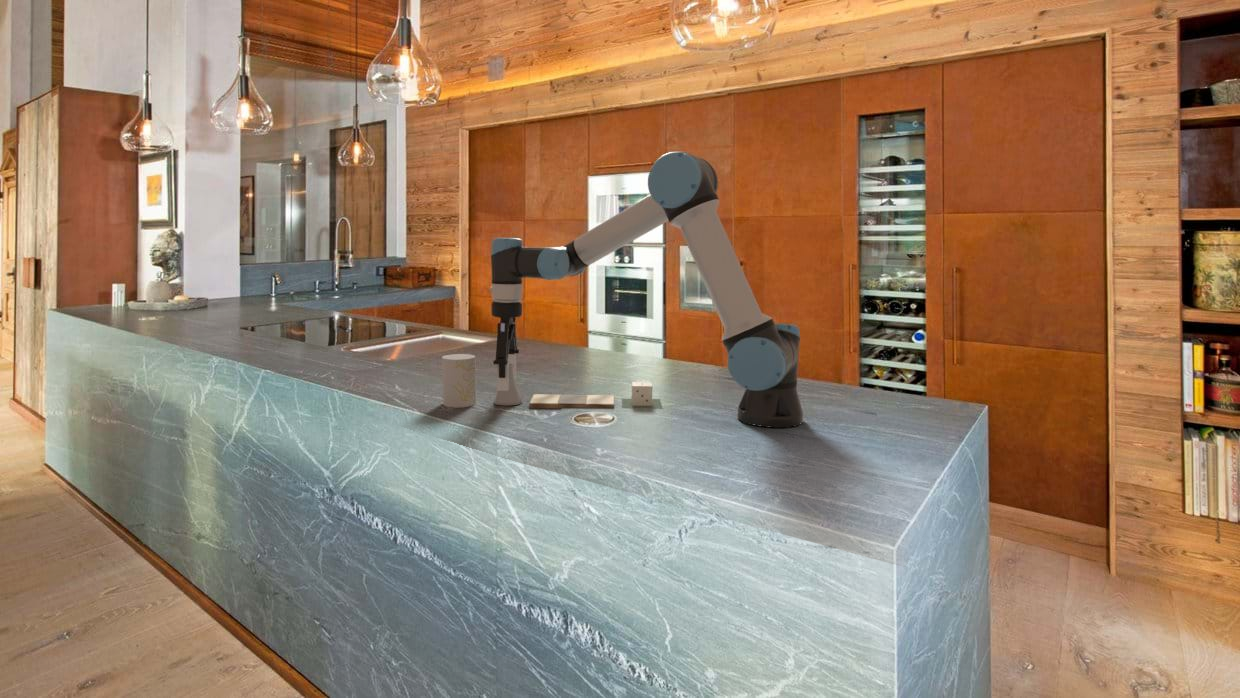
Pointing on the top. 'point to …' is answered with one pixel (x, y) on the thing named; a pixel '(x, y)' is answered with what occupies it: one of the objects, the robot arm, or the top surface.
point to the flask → (509, 391)
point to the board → (571, 401)
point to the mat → (628, 404)
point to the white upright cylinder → (459, 380)
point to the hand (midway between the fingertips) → (506, 384)
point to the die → (641, 394)
